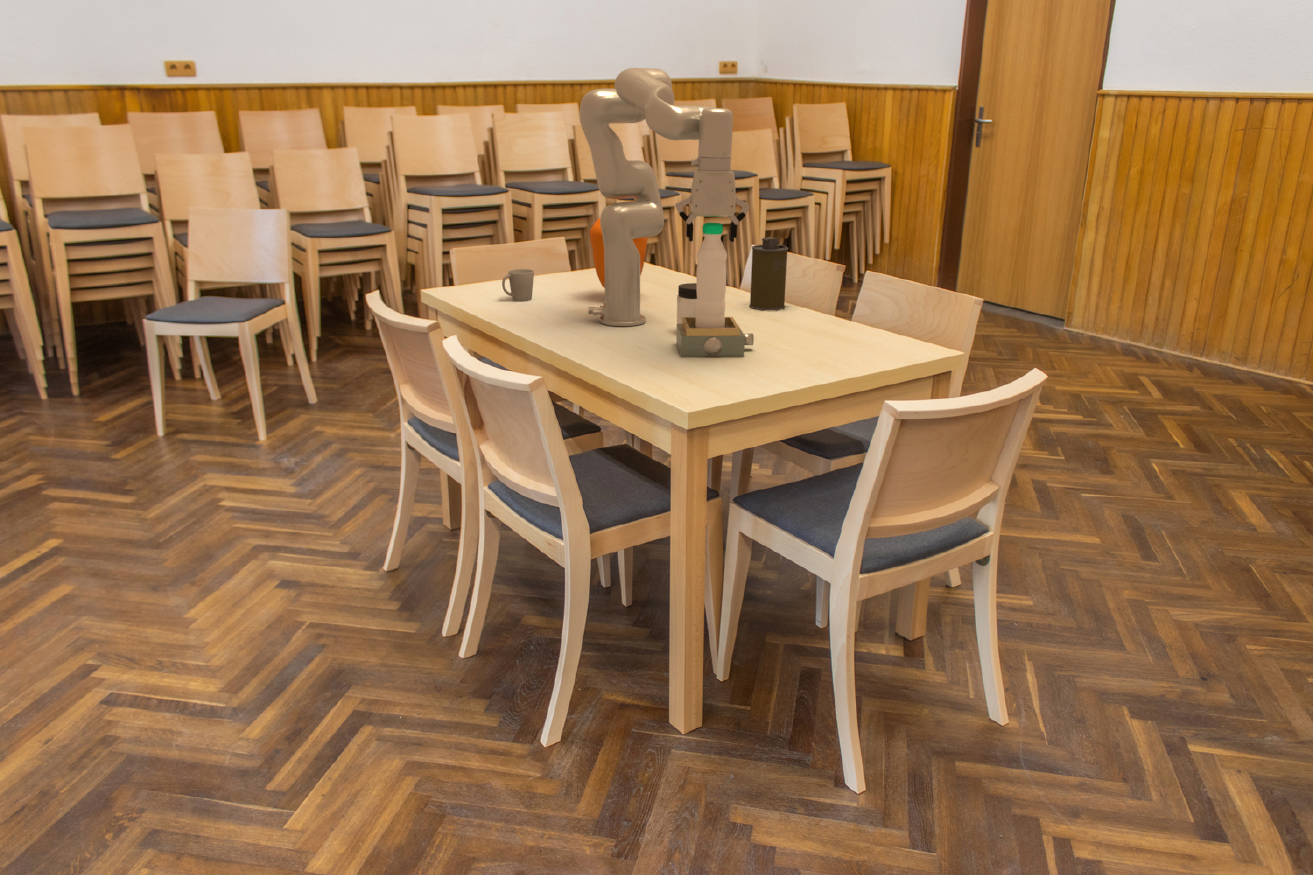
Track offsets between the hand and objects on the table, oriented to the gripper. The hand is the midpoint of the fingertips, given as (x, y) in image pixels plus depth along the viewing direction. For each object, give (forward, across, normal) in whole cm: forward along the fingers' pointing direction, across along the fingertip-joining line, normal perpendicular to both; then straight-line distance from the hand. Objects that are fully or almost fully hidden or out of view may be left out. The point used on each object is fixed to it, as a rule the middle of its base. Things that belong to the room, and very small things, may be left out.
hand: (711, 240), depth 227 cm
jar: (+27, -1, +18) cm, 32 cm away
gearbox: (+26, +2, -1) cm, 26 cm away
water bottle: (+21, 0, -1) cm, 21 cm away
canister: (+27, +24, +48) cm, 60 cm away
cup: (+28, -49, +60) cm, 83 cm away
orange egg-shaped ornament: (+28, -19, +61) cm, 70 cm away
